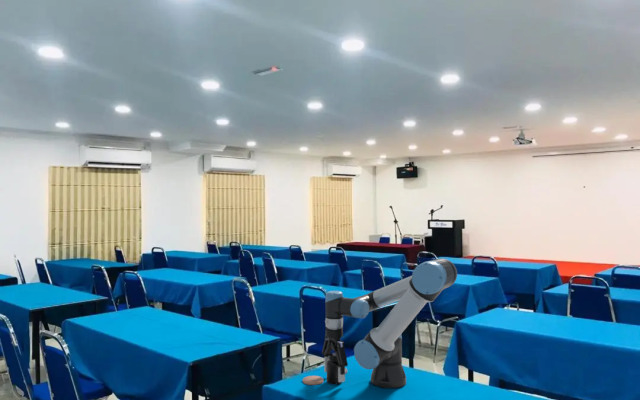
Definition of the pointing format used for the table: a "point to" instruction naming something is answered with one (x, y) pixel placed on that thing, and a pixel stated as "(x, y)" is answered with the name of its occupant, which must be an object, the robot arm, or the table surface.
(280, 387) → the table surface
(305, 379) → the terracotta coaster
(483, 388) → the table surface
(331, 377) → the supplement bottle
